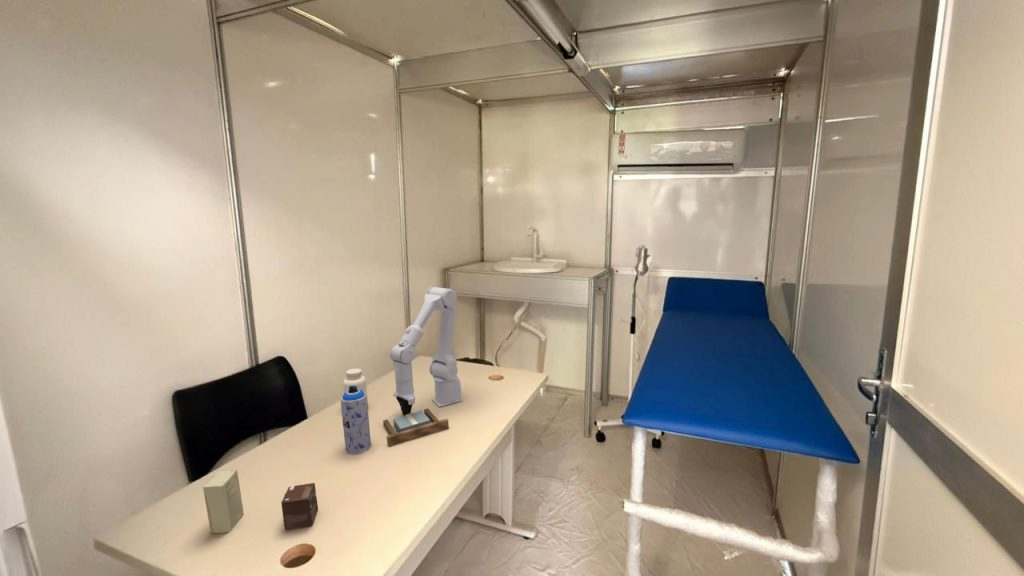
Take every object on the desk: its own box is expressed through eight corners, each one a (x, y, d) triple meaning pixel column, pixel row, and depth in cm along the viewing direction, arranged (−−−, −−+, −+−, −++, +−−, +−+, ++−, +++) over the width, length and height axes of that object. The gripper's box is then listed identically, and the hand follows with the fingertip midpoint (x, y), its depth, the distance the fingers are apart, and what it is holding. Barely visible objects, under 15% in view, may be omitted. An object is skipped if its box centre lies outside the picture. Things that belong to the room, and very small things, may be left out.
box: (312, 526, 97) (309, 498, 95) (284, 531, 95) (280, 502, 94) (318, 508, 102) (315, 482, 101) (292, 512, 101) (288, 485, 100)
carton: (422, 419, 146) (421, 410, 146) (430, 429, 139) (430, 419, 139) (393, 428, 141) (393, 418, 140) (401, 438, 134) (400, 428, 134)
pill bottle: (372, 404, 158) (368, 367, 155) (362, 414, 150) (358, 375, 147) (351, 403, 159) (348, 366, 156) (341, 414, 151) (337, 374, 148)
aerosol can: (340, 447, 129) (334, 387, 125) (364, 437, 135) (358, 379, 131) (352, 457, 124) (346, 394, 120) (376, 446, 129) (371, 386, 126)
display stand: (433, 411, 151) (433, 404, 150) (448, 428, 139) (448, 420, 139) (377, 427, 141) (376, 419, 140) (388, 446, 129) (388, 437, 128)
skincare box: (225, 515, 101) (218, 469, 99) (245, 513, 101) (238, 468, 99) (209, 534, 95) (201, 487, 93) (230, 533, 95) (222, 485, 93)
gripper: (386, 374, 147) (389, 410, 149) (398, 389, 135) (401, 428, 137) (406, 370, 150) (408, 405, 153) (419, 384, 138) (422, 422, 141)
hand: (406, 415), depth 145 cm, fingers closed
